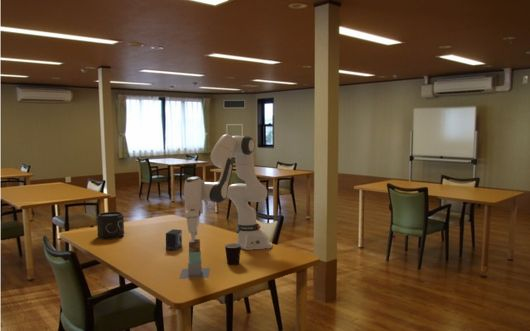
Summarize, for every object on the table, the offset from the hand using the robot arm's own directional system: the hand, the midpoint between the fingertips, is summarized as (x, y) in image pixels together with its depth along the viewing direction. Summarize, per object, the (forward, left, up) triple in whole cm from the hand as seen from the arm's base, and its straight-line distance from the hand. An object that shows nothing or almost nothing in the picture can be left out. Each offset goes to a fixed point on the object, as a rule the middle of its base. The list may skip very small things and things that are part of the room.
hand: (194, 237), depth 199 cm
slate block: (0, 0, -18) cm, 18 cm away
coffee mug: (-20, -15, -19) cm, 31 cm away
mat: (0, 0, -19) cm, 19 cm away
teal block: (0, 0, -12) cm, 12 cm away
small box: (+17, -47, -19) cm, 53 cm away
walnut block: (0, 0, -7) cm, 7 cm away
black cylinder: (+64, -80, -19) cm, 104 cm away
